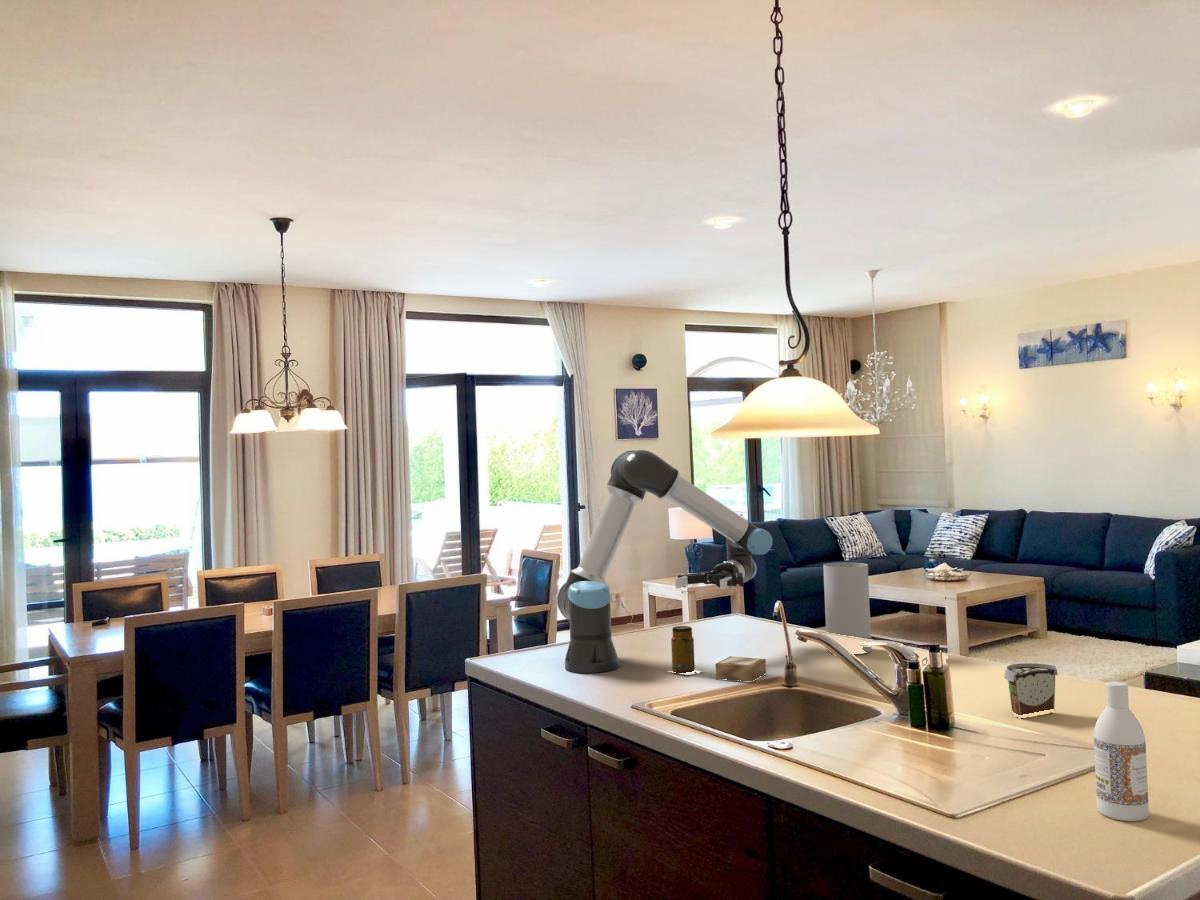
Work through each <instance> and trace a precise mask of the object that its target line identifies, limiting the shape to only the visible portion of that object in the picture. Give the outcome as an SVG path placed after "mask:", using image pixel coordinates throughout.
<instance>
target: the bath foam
mask: <svg viewBox="0 0 1200 900" xmlns="http://www.w3.org/2000/svg"><path fill="white" fill-rule="evenodd" d="M1105 689H1106V690H1105V691H1106V692H1105V693H1106V704H1107V705H1106V707H1105V708H1104V709H1103V711H1102V712H1101V714H1100V715H1099V717H1098V718H1097V721H1096V723H1095V726H1094V730H1093V748H1094V750H1093V751H1094V752H1093V753H1094V770H1095V771H1094V772H1095V773H1094V774H1095V790H1096V791H1095V792H1096V795H1095V796H1096V806H1097V807H1096V808H1097V811H1098V812H1099V813H1100V814H1101V815H1103V816H1105V817H1107V818H1109V819H1113V820H1116V821H1123V822H1141V821H1144V820H1146V819H1147V818H1148V817H1149V813H1150V812H1149V811H1150V808H1149V789H1148V788H1149V787H1148V786H1149V785H1148V765H1147V764H1148V763H1147V748H1146V747H1147V745H1146V743H1147V742H1146V736H1145V732H1144V729H1143V727H1142V725H1141V723H1140V721H1139V720H1138V719H1137V717H1136V716H1135V714H1134V713H1133V711H1132V710H1131V709H1130V706H1129V704H1130V703H1129V685H1128V684H1127V683H1126V682H1123V681H1117V680H1116V681H1115V680H1114V681H1107V682H1106V683H1105Z"/></svg>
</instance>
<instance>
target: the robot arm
mask: <svg viewBox="0 0 1200 900" xmlns="http://www.w3.org/2000/svg"><path fill="white" fill-rule="evenodd" d="M606 488H607V490H608V491H607V492H608V496H606V497H607V498H606V500H605V502H604V504H603V507H602V509H601V511H600V514H599V517H598V518H597V520H596V523H595V525H594V526H595V527H594V529H593V531H592V533H591V536H590V537H589V541H588V543H587V545H586V548H585V549H584V552H583V554H582V557H581V559H580V562H579V565H578V566H577V567H576V568H573V569H571V570H570V572H569V574H568V576H567V580H566V582H565V583H563V585H561V587H560V588H559V590H558V592H557V596H556V604H557V608H558V610H559V612H560V614H561V615H562V616H563V618H565V619H566V620H567V621H569V637H570V638H569V644H568V647H567V650H566V655H565V658H564V669H565V670H566V671H568V672H573V673H580V674H581V673H582V674H583V673H584V674H585V673H586V674H587V673H588V674H591V673H592V674H593V673H603V672H610V671H613V670H616V669H618V668H619V666H620V663H619V662H620V661H619V656H618V653H617V650H616V646H615V645H614V641H613V638H612V617H611V616H612V615H611V613H612V612H611V611H612V610H611V599H612V597H611V592H610V587H609V586H608V584H607V582H606V576H607V575H608V571H609V569H610V566H611V564H612V561H613V559H614V558H615V557H614V556H615V555H616V552H617V549H618V547H619V545H620V543H621V540H622V537H623V535H624V533H625V530H626V527H627V525H628V523H629V521H630V519H631V516H632V513H633V512H634V509H635V506H636V505H637V504H638V503H641V502H643V501H644V499H645V498H644V497H645V495H646V493H647V492H648V493H649V494H652V495H654V496H655V497H657V498H658V499H667V500H668V501H670V502H672V503H673V504H674V505H676V506H677V507H679V508H681V509H682V510H684V511H685V512H686V513H688V514H690V515H691V516H693V517H695V518H696V519H697V520H699V521H700V522H702V523H704V524H705V525H707V526H709V528H712V529H713V530H714V531H716V532H717V533H719V534H721V535H722V536H724V537H725V542H726V559H727V561H723V562H722V563H721V562H720V563H718V564H716V565H715V566H714V567H713V569H712V570H711V571H699V572H694V573H687V574H679V575H677V578H675V589H677V590H679V589H681V588H686V587H687V586H688V585H694V584H704V585H714V586H716V587H717V588H719V589H720V591H721V590H727V589H730V588H731V589H733V588H734V587H737V585H738V586H739V587H743V586H744V583H747V582H749V581H751V580H752V579H753V578H754V577H755V576H756V574H757V571H758V569H757V568H758V567H757V564H756V562H755V561H754V559H753V556H752V555H756V556H757V555H764V554H767V553H768V552H769V551H770V550H771V549H772V547H773V537H772V535H771V533H770V532H769V531H768V530H766V529H764V528H761V527H758V526H756V525H755V524H753V523H752V522H750V520H749V519H745V518H744V517H743V516H741V515H739V514H738V513H736V512H735V511H733V510H732V509H730V508H729V507H727V506H725V505H724V504H723V503H721V502H720V501H718V500H716V499H715V498H713V497H712V496H711V495H709V494H708V493H706V492H704V491H703V490H701V489H700V488H699V487H697V486H695V485H694V484H693V483H691V482H689V481H688V480H687V479H685V478H683V477H682V476H680V471H679V470H677V469H676V468H675V467H673V466H672V465H670V464H669V463H668V462H666V461H665V460H664V459H662V458H661V457H660V456H659V455H657V454H655V452H654V453H653V452H651V451H649V450H645V449H639V450H627V451H624V452H622V453H620V454H619V455H618V456H617V457H615V459H613V461H612V463H611V466H610V477H609V479H608V482H607V484H606Z"/></svg>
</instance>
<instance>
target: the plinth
mask: <svg viewBox="0 0 1200 900" xmlns="http://www.w3.org/2000/svg"><path fill="white" fill-rule="evenodd" d="M714 667H715V679H716V680H718V679H727V680H726V681H729V680H739V681H738V682H740V680H741V681H753V680H755V679H757V678H759V677H760V676H762V675H764V674H765V673H766V674H767V660H766V658H759V657H757V658H755V657H742V656H728V657H726V658H724V659H722V660H720V661H718V662H716V663H715V665H714ZM764 676H765V675H764ZM759 679H760V678H759Z"/></svg>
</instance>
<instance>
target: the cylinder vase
mask: <svg viewBox="0 0 1200 900" xmlns="http://www.w3.org/2000/svg"><path fill="white" fill-rule="evenodd" d="M822 568H823V588H824V613H825V614H824V615H825V633H826V632H829V633H835V634H840V635H846V636H854V637H865V638H871V639H872V635H871V633H872V632H871V630H872V629H871V610H870V609H871V606H870V586H869V565H868V563H863V562H831V563H824V564H823V567H822ZM826 649H827V648H826ZM862 649H863V650H864V651H865V652H867V653H866V654H868V653H870V652H871V651H872V646H871V647H863V648H862ZM827 651H828V652H829V653H831V652H830V651H829V650H828V649H827Z"/></svg>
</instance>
